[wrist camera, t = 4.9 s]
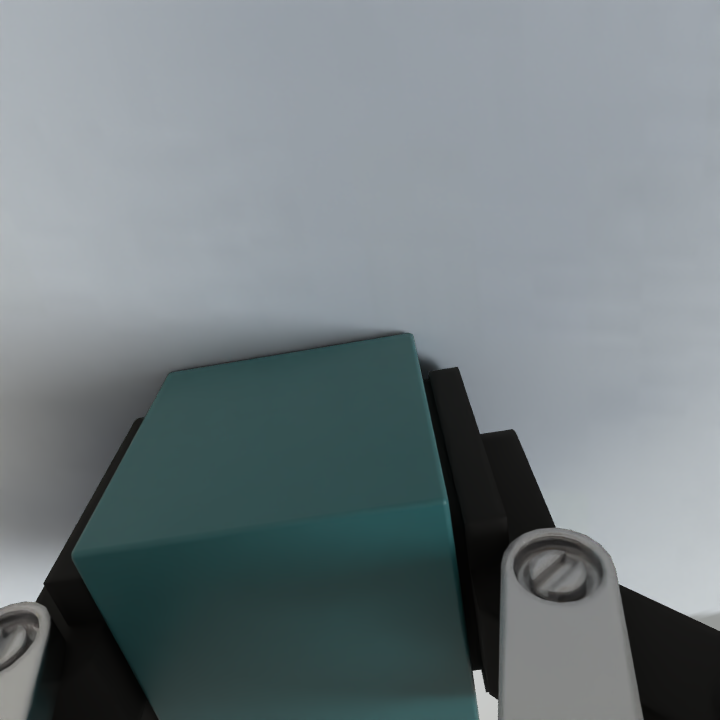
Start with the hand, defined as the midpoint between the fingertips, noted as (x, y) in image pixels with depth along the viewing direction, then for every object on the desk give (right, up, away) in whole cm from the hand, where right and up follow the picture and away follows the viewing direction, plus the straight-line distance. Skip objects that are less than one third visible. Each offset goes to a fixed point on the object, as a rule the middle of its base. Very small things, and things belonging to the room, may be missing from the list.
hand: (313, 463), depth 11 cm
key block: (0, 0, 0) cm, 0 cm away
